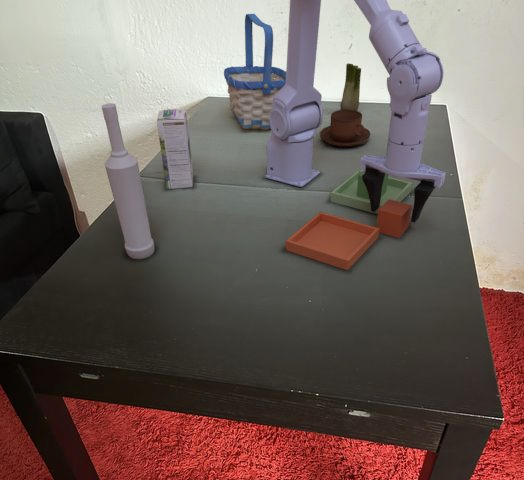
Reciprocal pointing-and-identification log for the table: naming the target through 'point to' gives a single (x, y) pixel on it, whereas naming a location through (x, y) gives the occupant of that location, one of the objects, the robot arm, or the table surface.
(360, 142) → the cup and saucer
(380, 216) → the clay block
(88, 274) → the table surface
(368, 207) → the green tray
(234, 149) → the table surface
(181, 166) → the syrup box
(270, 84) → the basket
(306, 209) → the table surface
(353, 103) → the fennel bulb
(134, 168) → the bottle
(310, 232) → the clay tray
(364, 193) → the green block
